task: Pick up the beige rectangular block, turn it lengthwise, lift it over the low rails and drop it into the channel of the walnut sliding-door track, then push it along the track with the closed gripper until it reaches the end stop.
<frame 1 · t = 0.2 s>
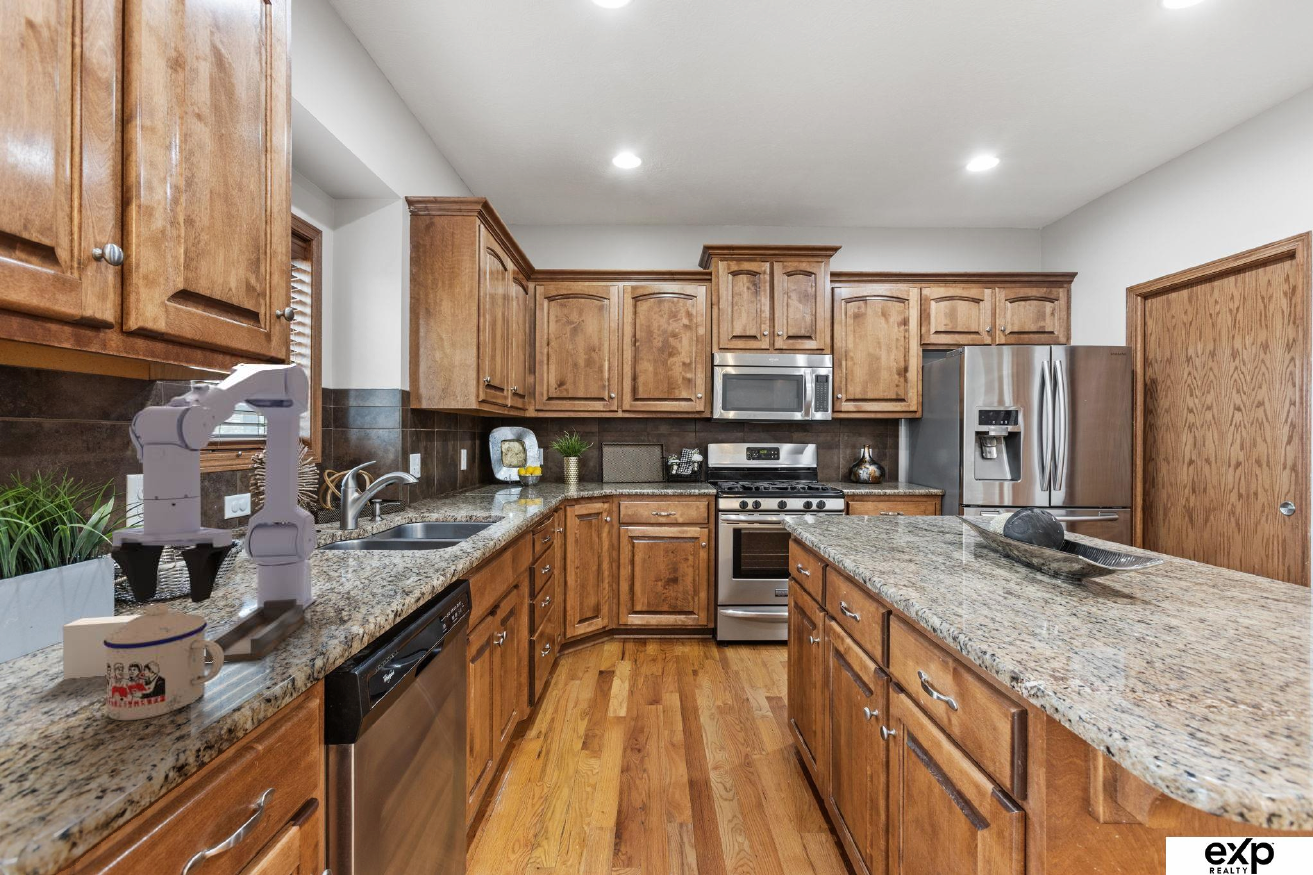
hand: (173, 600, 74), 10 cm above the counter, tool pointing down, fingers open, 7 cm apart
teacup with lid: (170, 704, 66), on the counter
door track: (259, 640, 86), on the counter
beige rectangular block: (104, 672, 75), on the counter
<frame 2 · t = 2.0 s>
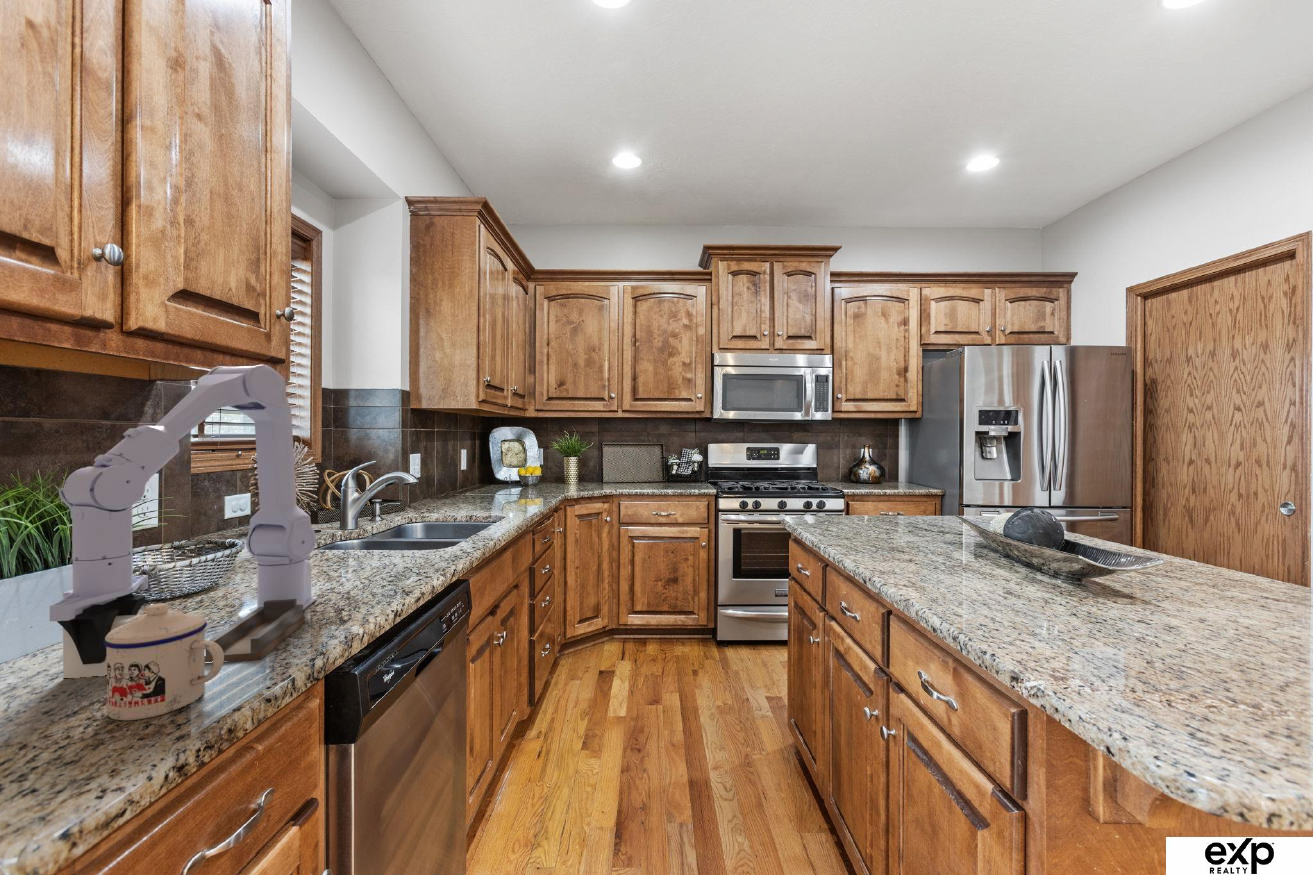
hand: (104, 657, 75), 2 cm above the counter, tool pointing down, fingers closed on beige rectangular block, 3 cm apart
beige rectangular block: (104, 671, 75), on the counter, touching gripper
everything else where it was.
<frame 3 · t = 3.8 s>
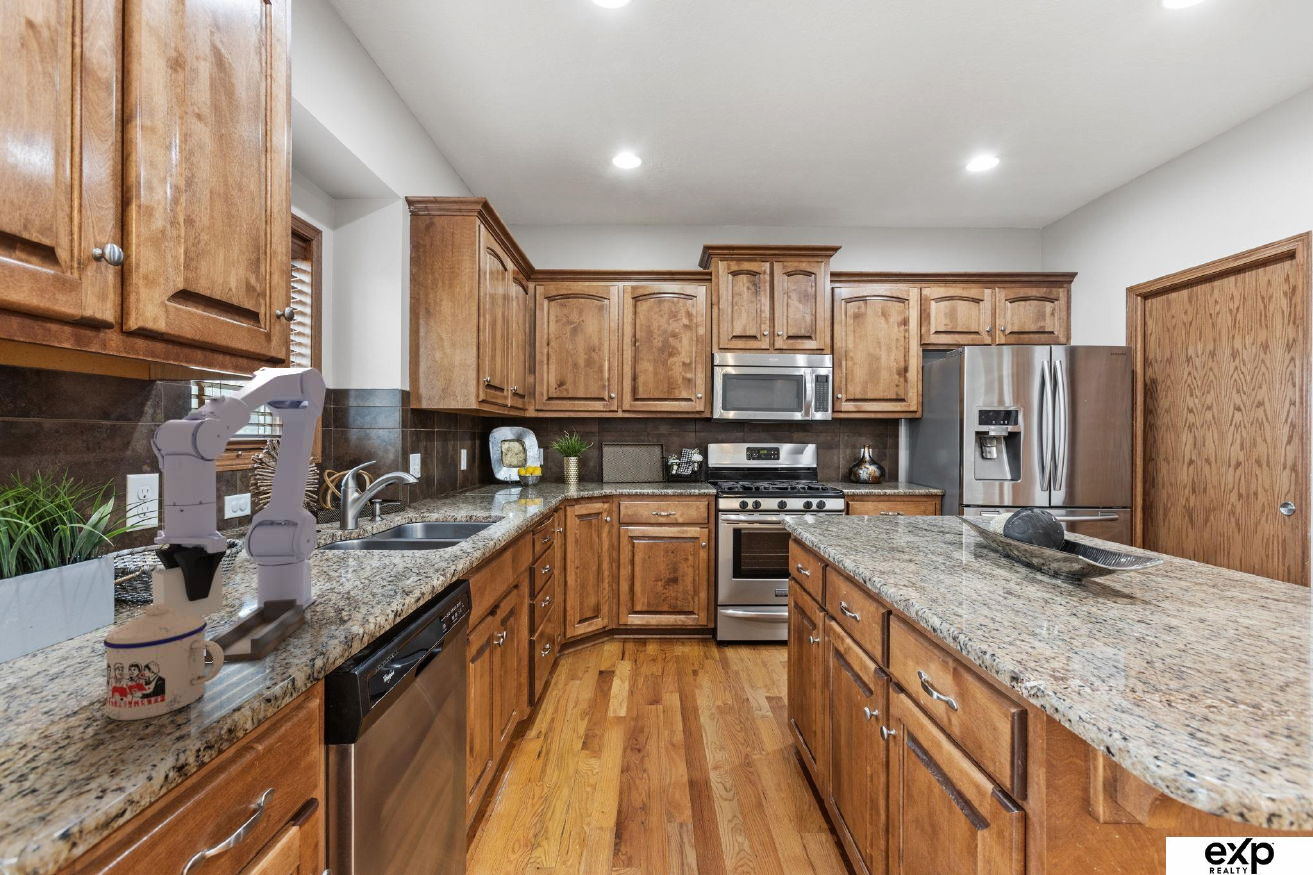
hand: (191, 597, 80), 8 cm above the counter, tool pointing down, fingers closed on beige rectangular block, 3 cm apart
beige rectangular block: (189, 615, 80), point 6 cm above the counter, touching gripper
everything else where it was.
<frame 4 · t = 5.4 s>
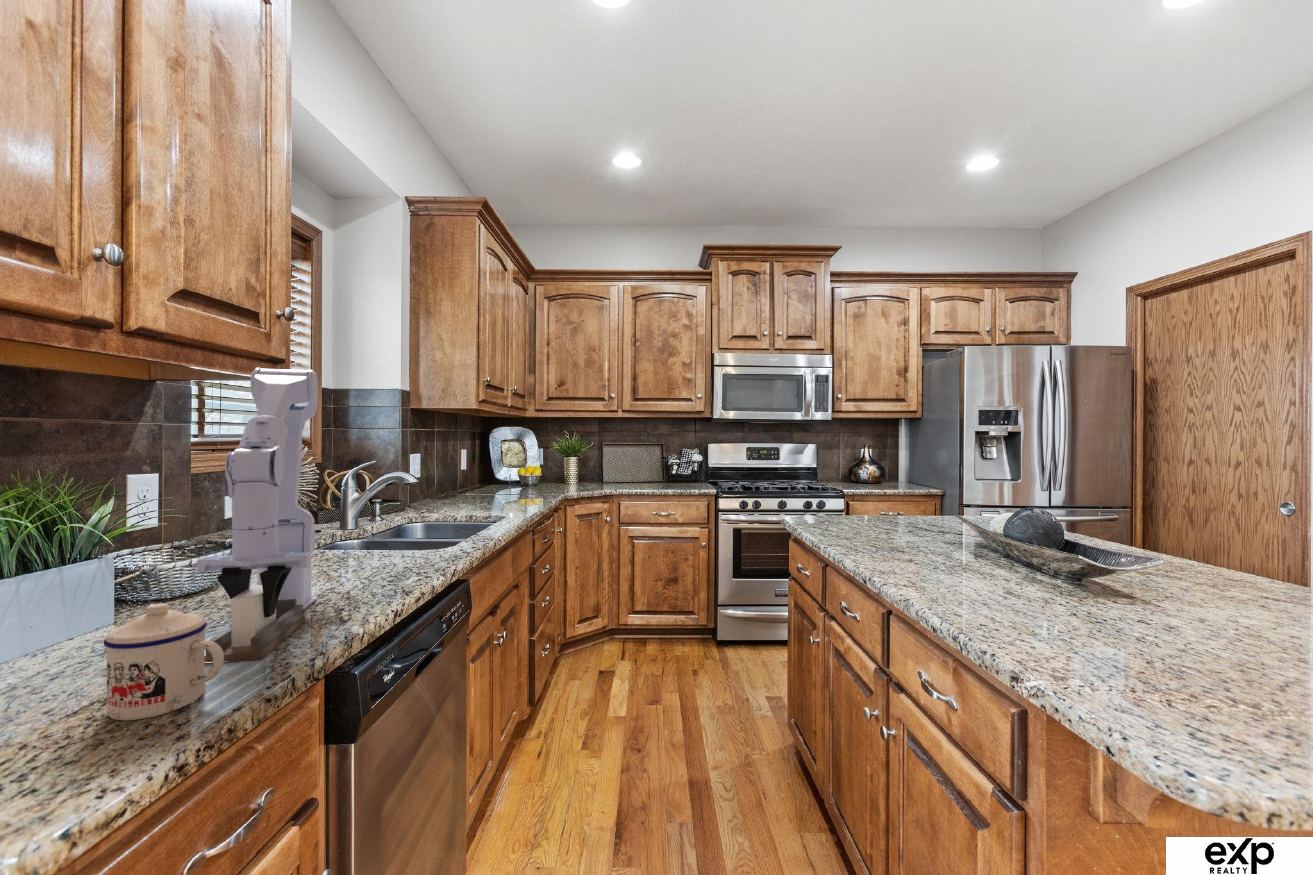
hand: (256, 616, 85), 4 cm above the counter, tool pointing down, fingers closed on beige rectangular block, 3 cm apart
beige rectangular block: (254, 637, 84), point 1 cm above the counter, touching door track, gripper
everything else where it was.
when the fingers open (4 cm above the counter, at t = 5.4 s): beige rectangular block stays where it is, resting on door track.
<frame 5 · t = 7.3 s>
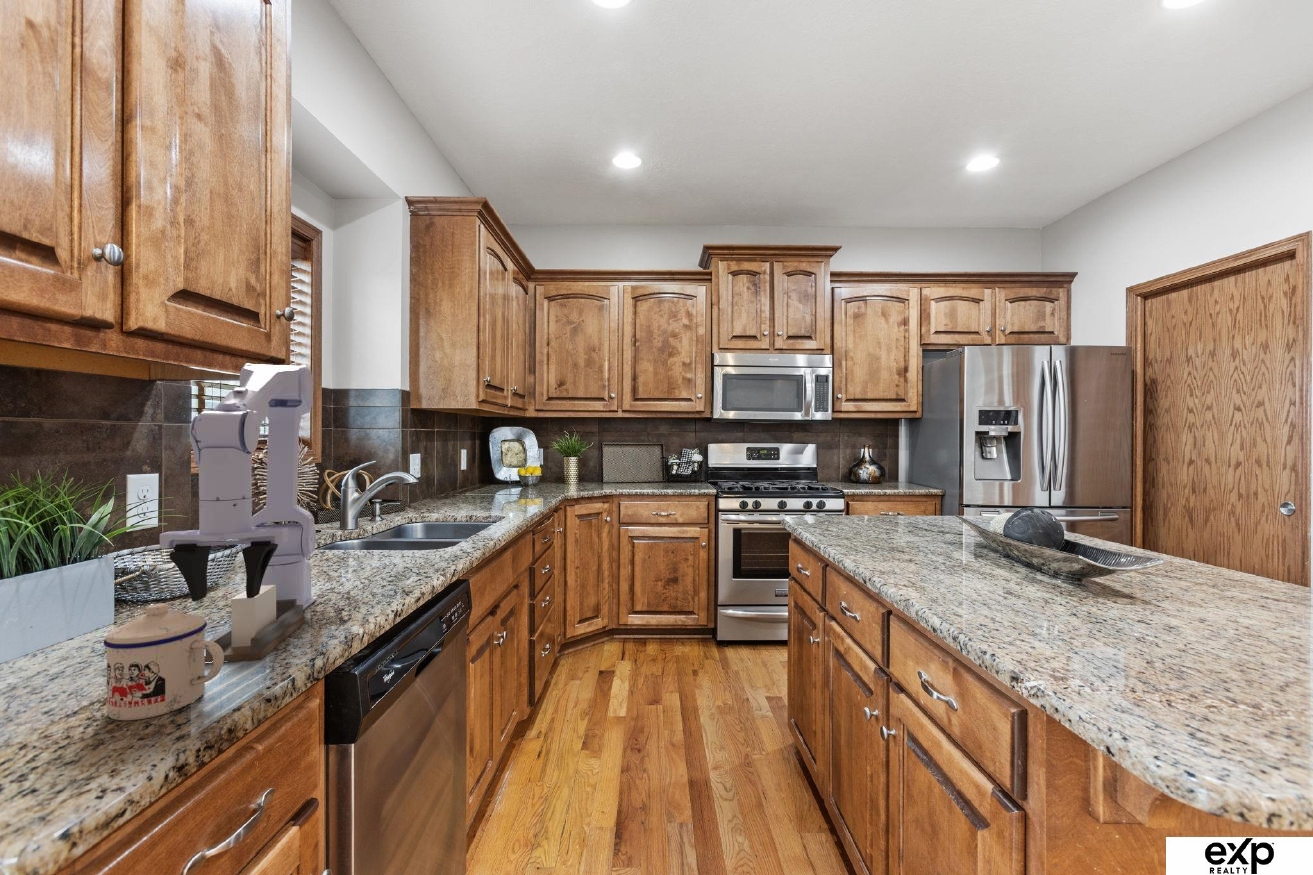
hand: (226, 597, 77), 9 cm above the counter, tool pointing down, fingers open, 6 cm apart
beige rectangular block: (254, 637, 84), point 1 cm above the counter, touching door track
everything else where it was.
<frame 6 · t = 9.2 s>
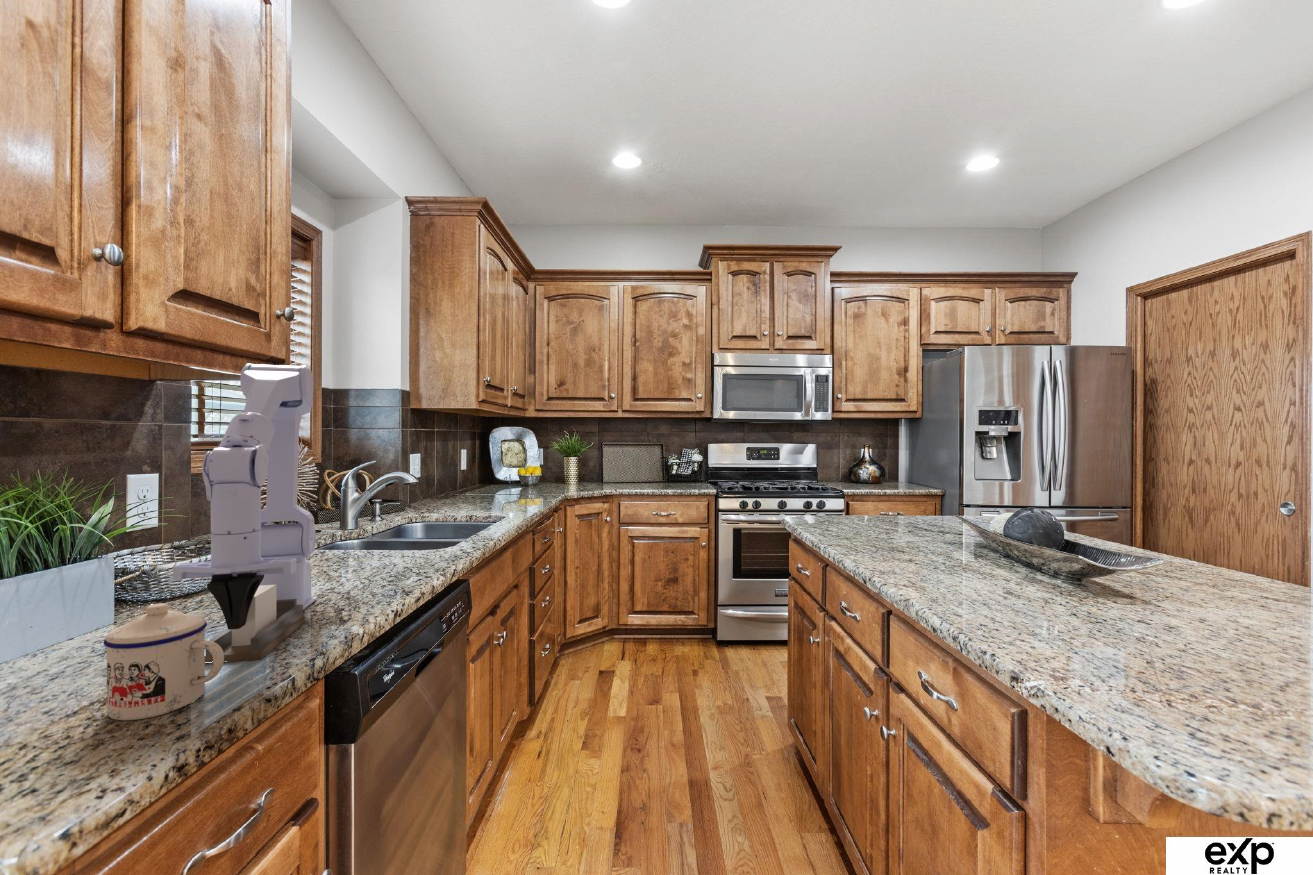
hand: (236, 626, 79), 4 cm above the counter, tool pointing down, fingers closed, pressing on beige rectangular block
beige rectangular block: (255, 637, 84), point 1 cm above the counter, touching gripper
everything else where it was.
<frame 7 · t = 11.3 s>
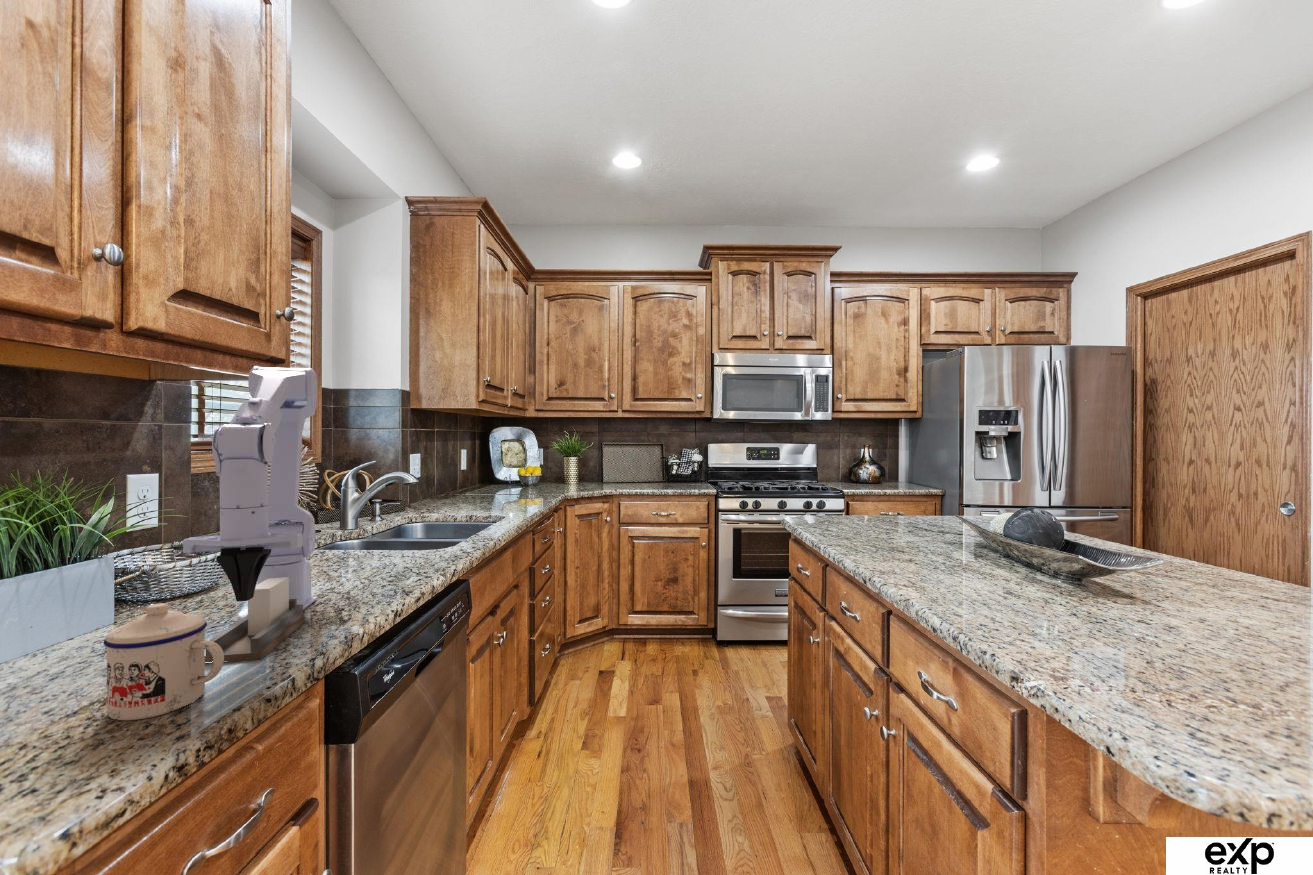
hand: (245, 599, 81), 8 cm above the counter, tool pointing down, fingers closed
beige rectangular block: (269, 626, 89), point 1 cm above the counter, touching door track
everything else where it was.
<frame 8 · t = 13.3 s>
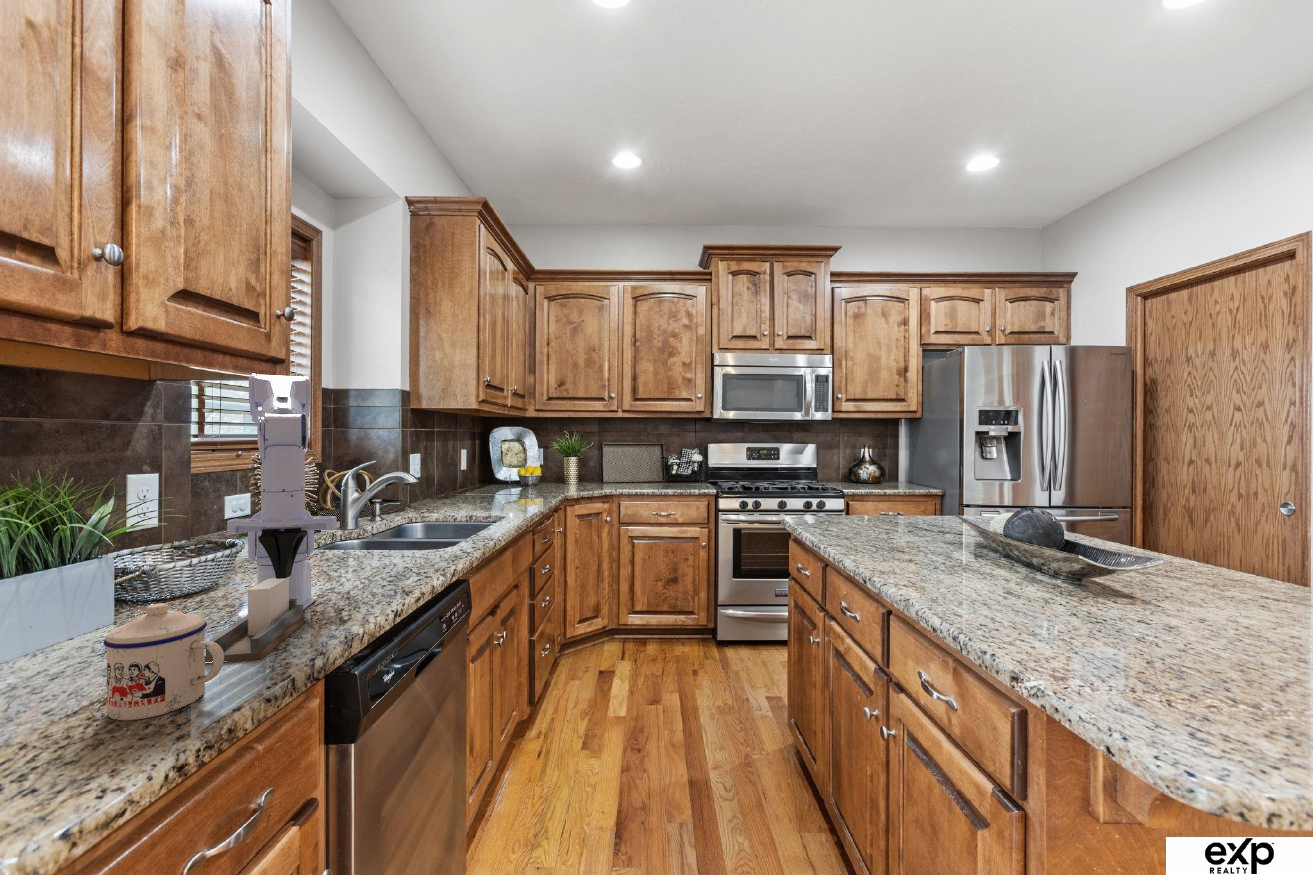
hand: (283, 577, 87), 9 cm above the counter, tool pointing down, fingers closed
nothing on the counter moved.
at the end: beige rectangular block 0.3 cm from the target spot, point 1.0 cm above the counter; beige rectangular block tilted 0°; the gripper is holding nothing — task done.
